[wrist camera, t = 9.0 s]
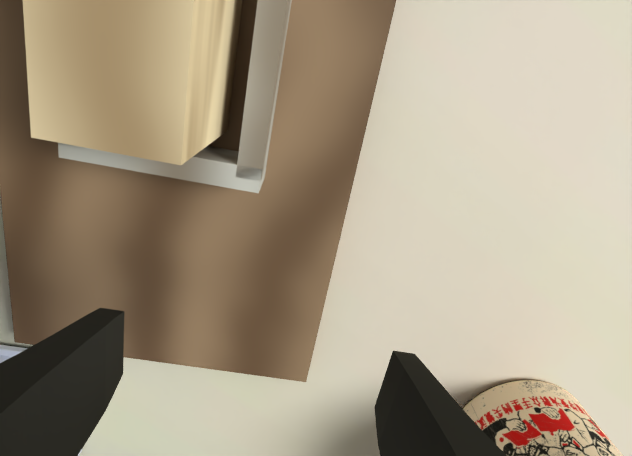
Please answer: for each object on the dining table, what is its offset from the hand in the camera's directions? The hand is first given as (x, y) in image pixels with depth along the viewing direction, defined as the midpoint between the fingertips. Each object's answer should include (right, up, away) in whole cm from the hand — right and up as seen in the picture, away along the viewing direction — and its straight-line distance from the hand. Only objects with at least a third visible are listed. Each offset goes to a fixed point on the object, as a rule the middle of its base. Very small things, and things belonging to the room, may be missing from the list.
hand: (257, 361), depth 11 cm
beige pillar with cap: (-4, +12, +5) cm, 14 cm away
